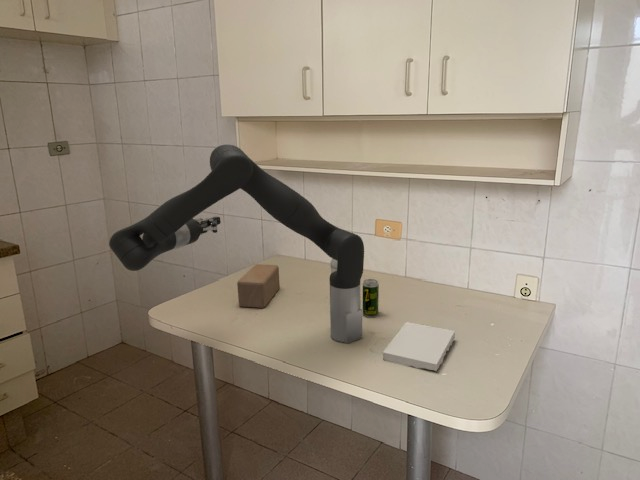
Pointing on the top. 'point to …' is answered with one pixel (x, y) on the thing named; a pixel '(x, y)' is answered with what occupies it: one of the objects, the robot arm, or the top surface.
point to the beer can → (370, 298)
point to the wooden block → (258, 286)
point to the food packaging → (419, 346)
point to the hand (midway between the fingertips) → (218, 219)
